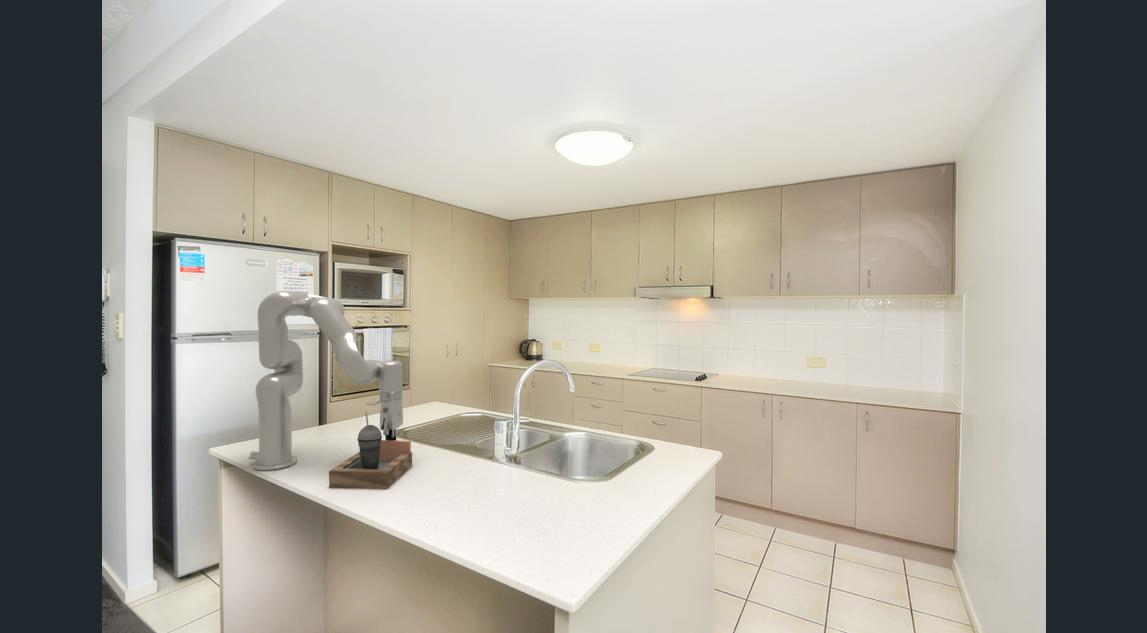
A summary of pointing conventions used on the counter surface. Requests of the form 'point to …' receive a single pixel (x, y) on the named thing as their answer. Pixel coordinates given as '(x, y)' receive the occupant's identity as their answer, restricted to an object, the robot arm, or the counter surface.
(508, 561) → the counter surface
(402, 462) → the housing
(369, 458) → the beverage cup
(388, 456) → the tray
